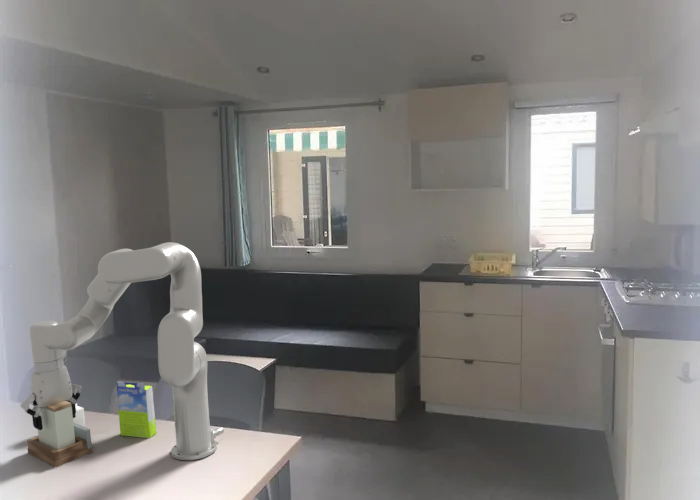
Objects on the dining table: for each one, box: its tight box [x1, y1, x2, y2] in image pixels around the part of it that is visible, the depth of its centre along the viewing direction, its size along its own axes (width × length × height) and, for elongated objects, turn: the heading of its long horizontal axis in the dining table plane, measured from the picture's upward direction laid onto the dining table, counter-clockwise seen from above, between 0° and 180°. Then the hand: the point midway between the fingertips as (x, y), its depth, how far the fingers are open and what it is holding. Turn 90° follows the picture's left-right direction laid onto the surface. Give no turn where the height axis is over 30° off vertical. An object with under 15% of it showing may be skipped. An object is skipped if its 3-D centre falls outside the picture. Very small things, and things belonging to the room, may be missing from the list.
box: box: [115, 381, 157, 439], centre depth 187 cm, size 10×4×17 cm, turn 74°
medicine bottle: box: [66, 391, 86, 427], centre depth 192 cm, size 7×7×12 cm
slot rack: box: [26, 423, 93, 468], centre depth 177 cm, size 11×16×7 cm
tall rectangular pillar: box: [37, 401, 75, 450], centre depth 176 cm, size 5×11×14 cm, turn 53°
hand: (55, 422), depth 176 cm, fingers open, 9 cm apart
